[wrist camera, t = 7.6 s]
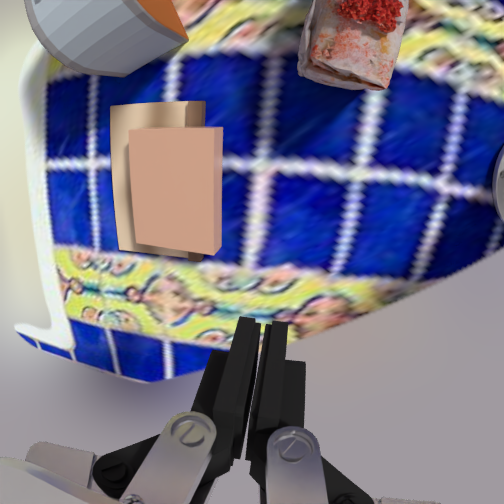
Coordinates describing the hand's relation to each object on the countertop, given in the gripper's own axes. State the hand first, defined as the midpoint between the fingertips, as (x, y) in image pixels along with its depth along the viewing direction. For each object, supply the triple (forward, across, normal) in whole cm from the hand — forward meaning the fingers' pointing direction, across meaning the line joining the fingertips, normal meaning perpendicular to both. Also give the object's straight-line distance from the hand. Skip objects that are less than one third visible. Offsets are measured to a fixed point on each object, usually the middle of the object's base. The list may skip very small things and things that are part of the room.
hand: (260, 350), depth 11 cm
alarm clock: (+23, +18, -20) cm, 35 cm away
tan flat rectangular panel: (+22, +14, 0) cm, 27 cm away
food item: (+23, -5, -17) cm, 29 cm away
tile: (+19, +6, 0) cm, 20 cm away
